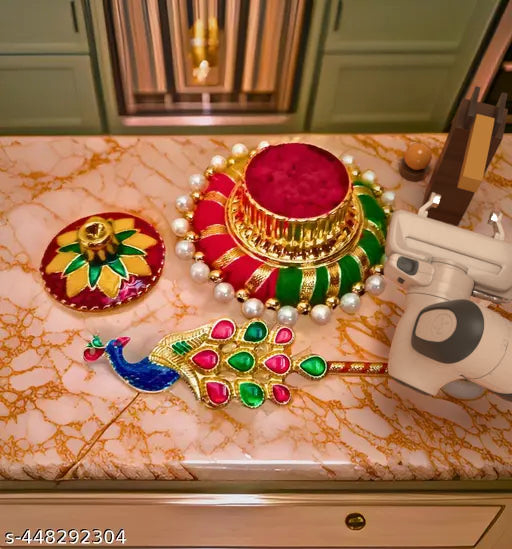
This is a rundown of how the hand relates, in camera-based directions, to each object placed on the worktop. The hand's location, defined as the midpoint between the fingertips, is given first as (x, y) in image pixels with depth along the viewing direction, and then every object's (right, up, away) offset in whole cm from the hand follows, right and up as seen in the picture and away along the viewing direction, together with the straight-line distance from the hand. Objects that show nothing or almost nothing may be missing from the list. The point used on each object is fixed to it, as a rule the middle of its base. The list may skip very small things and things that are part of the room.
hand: (466, 203), depth 89 cm
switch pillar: (+6, +3, +32) cm, 32 cm away
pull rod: (+3, +8, +6) cm, 11 cm away
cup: (+7, -18, +18) cm, 26 cm away
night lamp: (+2, +12, +37) cm, 39 cm away
